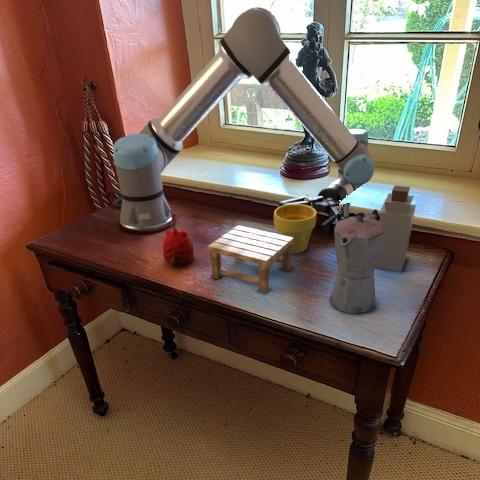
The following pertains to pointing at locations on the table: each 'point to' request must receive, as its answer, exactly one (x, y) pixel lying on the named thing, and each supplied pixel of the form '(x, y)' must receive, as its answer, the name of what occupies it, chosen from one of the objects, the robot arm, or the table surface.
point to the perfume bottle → (395, 228)
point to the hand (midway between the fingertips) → (297, 224)
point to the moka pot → (356, 261)
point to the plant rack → (251, 253)
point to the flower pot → (295, 224)
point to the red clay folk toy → (177, 246)
